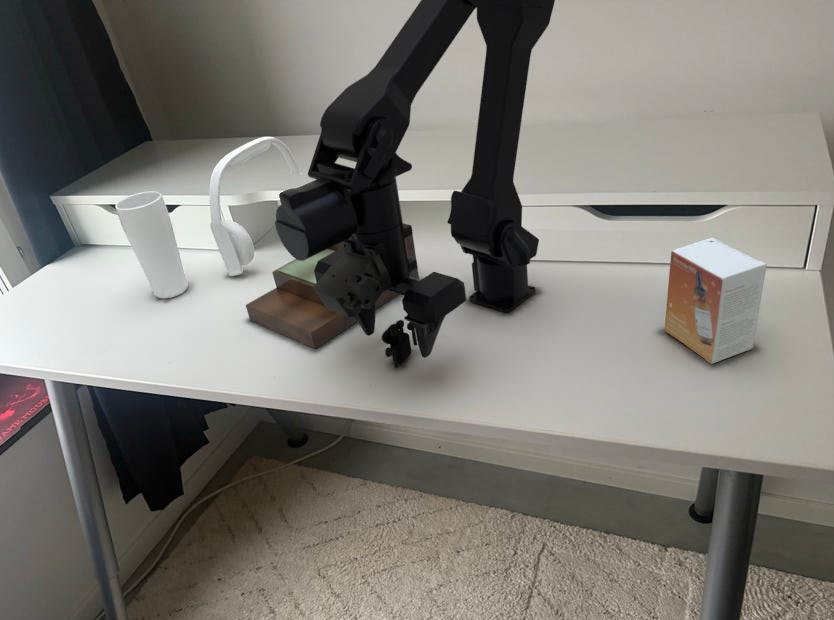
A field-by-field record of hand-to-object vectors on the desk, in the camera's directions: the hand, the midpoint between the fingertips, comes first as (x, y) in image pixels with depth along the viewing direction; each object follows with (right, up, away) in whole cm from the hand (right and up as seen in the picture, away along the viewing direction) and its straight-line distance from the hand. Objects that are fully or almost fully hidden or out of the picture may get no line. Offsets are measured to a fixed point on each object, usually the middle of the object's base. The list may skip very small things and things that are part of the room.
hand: (397, 344), depth 85 cm
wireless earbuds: (0, -2, +1) cm, 2 cm away
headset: (-20, +16, +33) cm, 42 cm away
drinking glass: (-35, +9, +26) cm, 44 cm away
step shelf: (-9, +7, +16) cm, 19 cm away
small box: (+35, 0, -5) cm, 35 cm away
